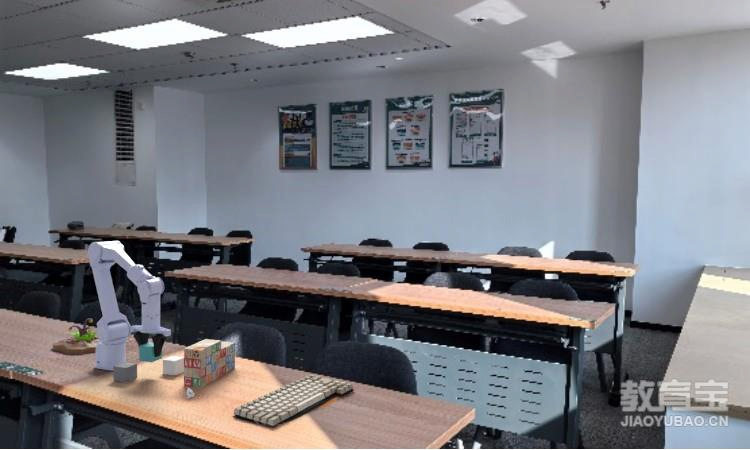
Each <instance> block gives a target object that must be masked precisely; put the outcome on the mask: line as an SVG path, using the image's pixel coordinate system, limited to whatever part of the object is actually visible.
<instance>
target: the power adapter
mask: <svg viewBox="0 0 750 450" xmlns="http://www.w3.org/2000/svg"><path fill="white" fill-rule="evenodd" d="M186 397H187V399H191V398H193V397H195V392H194V391H193V390H192V388H190V387H187V389H186Z"/></svg>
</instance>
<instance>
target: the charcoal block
mask: <svg viewBox="0 0 750 450" xmlns="http://www.w3.org/2000/svg"><path fill="white" fill-rule="evenodd" d="M136 378H137V379H138V363H136V362H135V363H134V362H128V361H126V362H123V363H121V364H118V365H115V366H113V382H116V381H120V382H119V383H122V382H125V383H124V384H127V383H130V382H132V381H135V380H136ZM134 379H135V380H134ZM131 380H132V381H131ZM129 381H130V382H129ZM126 382H127V383H126Z"/></svg>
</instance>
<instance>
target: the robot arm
mask: <svg viewBox="0 0 750 450" xmlns="http://www.w3.org/2000/svg"><path fill="white" fill-rule="evenodd" d="M86 253H87V257H88V261H89V265H90V267H91V270H92V274H93V279H94V283H95V287H96V293H97V295H98V301H99V306H100V310H101V312H102V313H101V314H102V317H101V318H100V319H99V320H98V321H97V322H96V327H97V334H96V335H97V336H98V339H99V340H100V342H99V343H98V344H97V346H96V352H95V365H94V366H93V369H99V370H105V371H113V366H115V365H118V364H121V363H123V362H127V356H126V354H127V352H126V351H127V350H126V348H127V345H126V344H127V343H126V342H127V341H129V340H128V338H129V337H130V336H131V334H132V333H134V334H133V338H134V340H135V342H136V343H137V346H138V347H139V346H140V345H143V344H146V343H148V342H149V338H150V335H153V336H151V340H152V342H153V344H154V355H155V357H158V356H160V355H161V351H162V352H163V347H164V345H165V343H166V341H167V339H168V337H169V336H171V335H172V330H171V329H169V328H165V327H163V326H161V295H162V294H163V293H164V291H165V284H164V281H163V280H162V278H161V277H158V276H157V277H156V276H153V275H152V274H151V273H150V272H149V271H148V270H146V268H145V266H144V265H143V264H136V263H135V262H134V261H133V260H132V259H131V257H130V256H129V255H128V254H127V253H126V251H125V246H124V245H123V244H122V243H121V241H119V240H112V241H111V240H110V241H109V240H108V241H93V242H91V243H90V245H89V246H88V248H87V252H86ZM115 264H117V265H119V266H120V267H121V268H123V269H124V270H125V272H127V273H126V276H127V278H128V279H129V280H130V281H131V282H132V283H133V284H134V285H135V286H136V287H137V293H138V295H139V301H140V303H141V325H140V324H139V325H137V324H135V325H131V324H130V322H129V320H128V318H127V317H128V316H127V315H125V314H123V313H121V312H120V309H119V305H118V301H117V297H116V296H117V295H116V292H115V288H114V284H113V278H112V275H111V271H110V270H111V267H112V266H114V265H115ZM113 372H114V371H113Z"/></svg>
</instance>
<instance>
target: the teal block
mask: <svg viewBox="0 0 750 450" xmlns="http://www.w3.org/2000/svg"><path fill="white" fill-rule="evenodd" d="M138 348H139V350H138V351H139V353H138V355H139V356H138V359H139V360H138V361H140V362H146V363H154V362H156V361H159V360H163V350H162V351H161V355H160V356H158V357H155V355H154V344H153V341H152V342H151V341H148V343H146V344H143V345H140V346H138Z"/></svg>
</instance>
